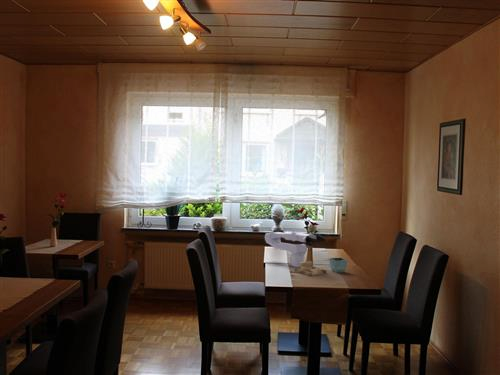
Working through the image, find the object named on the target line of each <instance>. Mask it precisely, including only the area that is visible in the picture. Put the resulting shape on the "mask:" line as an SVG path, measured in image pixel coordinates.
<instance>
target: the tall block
mask: <svg viewBox="0 0 500 375" xmlns="http://www.w3.org/2000/svg"><path fill="white" fill-rule="evenodd" d="M313 264H314V263H313V261H311V260H308V261H304V262H300V267H299V269H300V270H304V271H308V270H312V267H313Z"/></svg>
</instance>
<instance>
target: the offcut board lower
mask: <svg viewBox="0 0 500 375" xmlns="http://www.w3.org/2000/svg"><path fill="white" fill-rule="evenodd" d="M308 272H309V271H308ZM317 274H320V275H324V274H323V271H321V272H317V273H312V275H315V276H318V275H317Z"/></svg>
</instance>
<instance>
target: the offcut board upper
mask: <svg viewBox="0 0 500 375" xmlns="http://www.w3.org/2000/svg"><path fill="white" fill-rule="evenodd" d="M317 268H318V267H316V269H312V270H309V272H311V273H317V272H321V271H322V269H323V268H320V269H317Z"/></svg>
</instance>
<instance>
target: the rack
mask: <svg viewBox="0 0 500 375" xmlns="http://www.w3.org/2000/svg"><path fill="white" fill-rule="evenodd" d="M316 268H317V269H322V271H323V274H322V275H325V274H327V270H326V269H323V268H318V267H315V266H312V269H316ZM308 271H309V270H308ZM308 271H304V270H300V268H294V272H295V273H298V274H302V275H305V276H309V277H313V276H319V275H321V274H317V275H312V273H311V272H308Z"/></svg>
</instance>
